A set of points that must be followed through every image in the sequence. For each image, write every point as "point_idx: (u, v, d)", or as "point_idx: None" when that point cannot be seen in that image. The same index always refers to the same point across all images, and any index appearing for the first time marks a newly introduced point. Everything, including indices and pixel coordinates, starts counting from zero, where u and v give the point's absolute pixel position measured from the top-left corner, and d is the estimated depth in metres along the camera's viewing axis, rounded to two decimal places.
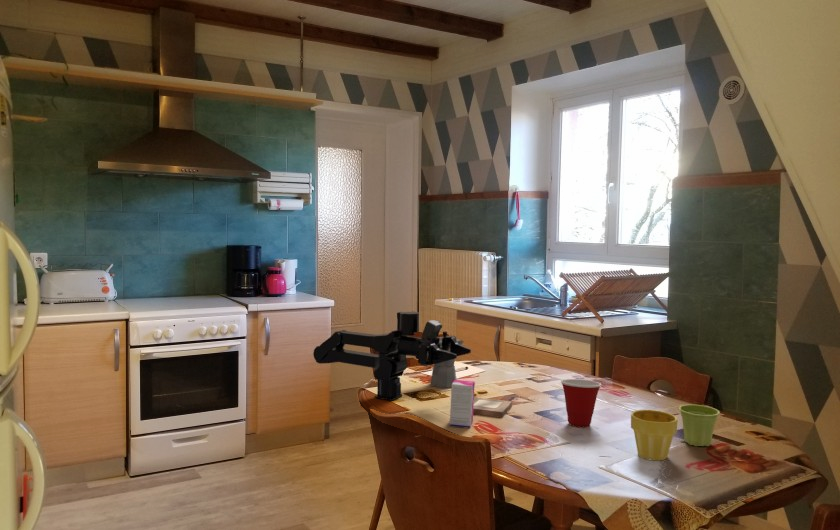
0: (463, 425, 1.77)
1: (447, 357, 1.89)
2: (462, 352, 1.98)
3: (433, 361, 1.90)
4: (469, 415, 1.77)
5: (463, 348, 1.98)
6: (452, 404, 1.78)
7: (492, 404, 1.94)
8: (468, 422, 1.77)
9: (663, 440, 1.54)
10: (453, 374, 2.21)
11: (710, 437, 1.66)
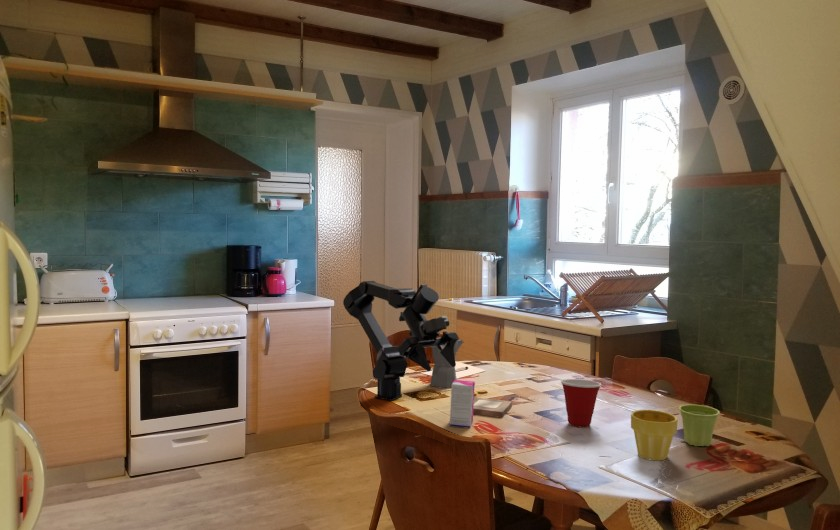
0: (463, 425, 1.77)
1: (422, 364, 1.84)
2: (449, 360, 1.91)
3: (411, 356, 1.86)
4: (469, 415, 1.77)
5: (451, 358, 1.90)
6: (452, 404, 1.78)
7: (492, 404, 1.94)
8: (468, 422, 1.77)
9: (663, 440, 1.54)
10: (453, 374, 2.21)
11: (710, 437, 1.66)
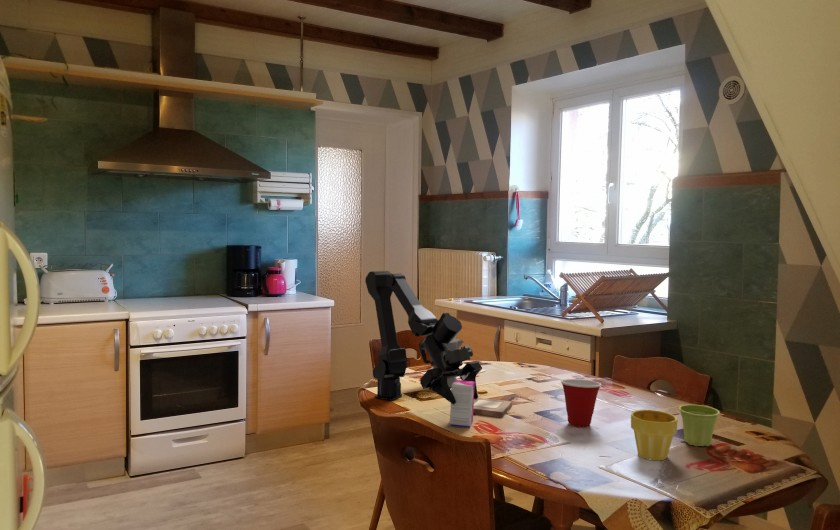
0: (463, 425, 1.77)
1: (447, 397, 1.77)
2: None
3: (434, 388, 1.79)
4: (469, 415, 1.77)
5: None
6: (452, 404, 1.78)
7: (492, 404, 1.94)
8: (468, 422, 1.77)
9: (663, 440, 1.54)
10: None
11: (710, 437, 1.66)
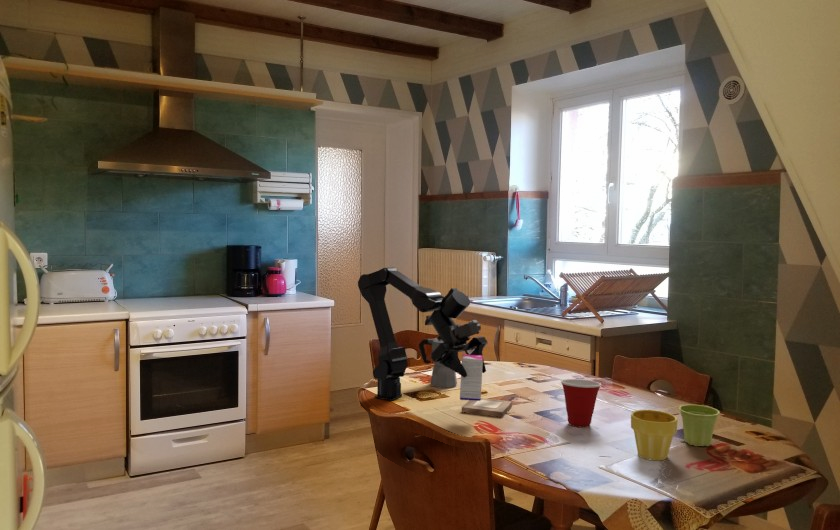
0: (473, 398, 1.80)
1: (458, 370, 1.80)
2: None
3: (445, 362, 1.81)
4: (479, 388, 1.80)
5: None
6: (463, 378, 1.80)
7: (492, 404, 1.94)
8: (479, 395, 1.80)
9: (663, 440, 1.54)
10: (453, 374, 2.21)
11: (710, 437, 1.66)
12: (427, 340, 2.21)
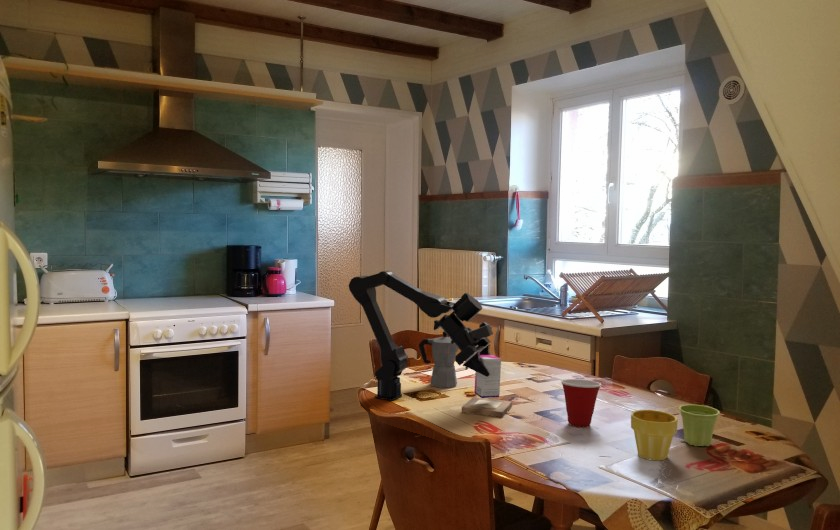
0: (493, 395, 1.93)
1: (481, 370, 1.90)
2: None
3: (467, 364, 1.90)
4: (498, 385, 1.93)
5: None
6: (484, 377, 1.91)
7: (492, 404, 1.94)
8: (498, 392, 1.93)
9: (663, 440, 1.54)
10: (453, 374, 2.21)
11: (710, 437, 1.66)
12: (427, 340, 2.21)
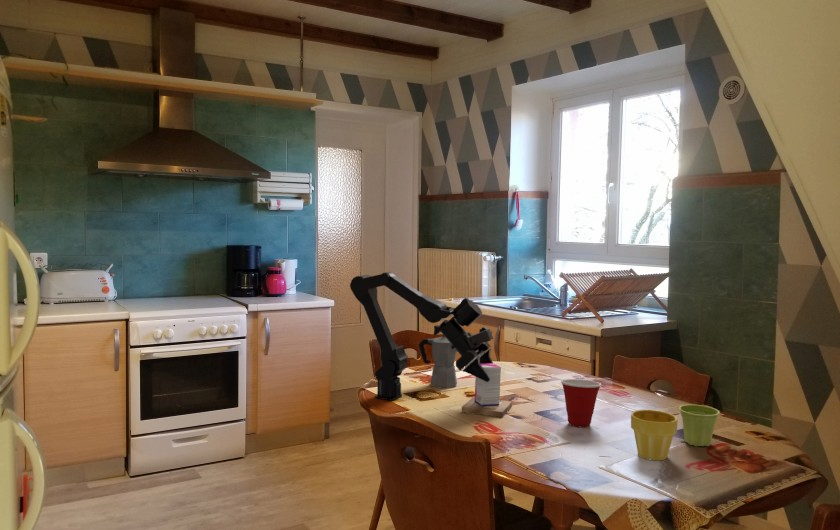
0: (493, 404, 1.93)
1: (481, 376, 1.90)
2: None
3: (467, 369, 1.90)
4: (498, 394, 1.93)
5: None
6: (484, 386, 1.92)
7: None
8: (498, 400, 1.93)
9: (663, 440, 1.54)
10: (453, 374, 2.21)
11: (710, 437, 1.66)
12: (427, 340, 2.21)
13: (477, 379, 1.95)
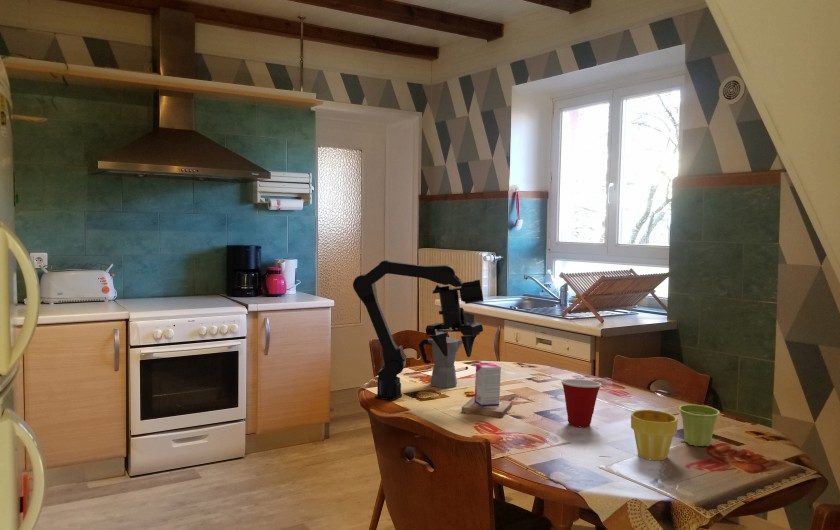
0: (493, 404, 1.93)
1: (469, 349, 1.99)
2: (443, 348, 2.06)
3: (467, 338, 1.97)
4: (498, 394, 1.93)
5: (446, 348, 2.07)
6: (484, 386, 1.92)
7: None
8: (498, 400, 1.93)
9: (663, 440, 1.54)
10: (453, 374, 2.21)
11: (710, 437, 1.66)
12: (427, 340, 2.21)
13: (477, 379, 1.95)
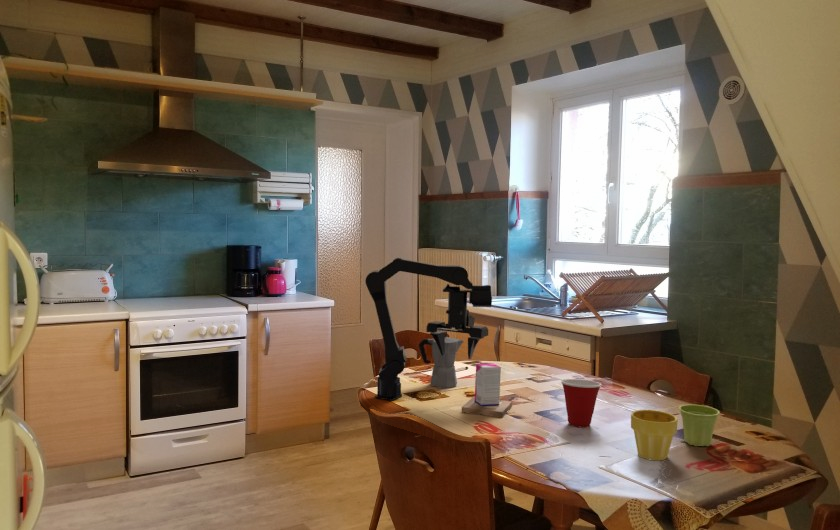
0: (493, 404, 1.93)
1: (472, 351, 2.02)
2: (442, 347, 2.07)
3: (473, 340, 2.00)
4: (498, 394, 1.93)
5: (444, 347, 2.08)
6: (484, 386, 1.92)
7: None
8: (498, 400, 1.93)
9: (663, 440, 1.54)
10: (453, 374, 2.21)
11: (710, 437, 1.66)
12: (427, 340, 2.21)
13: (477, 379, 1.95)
